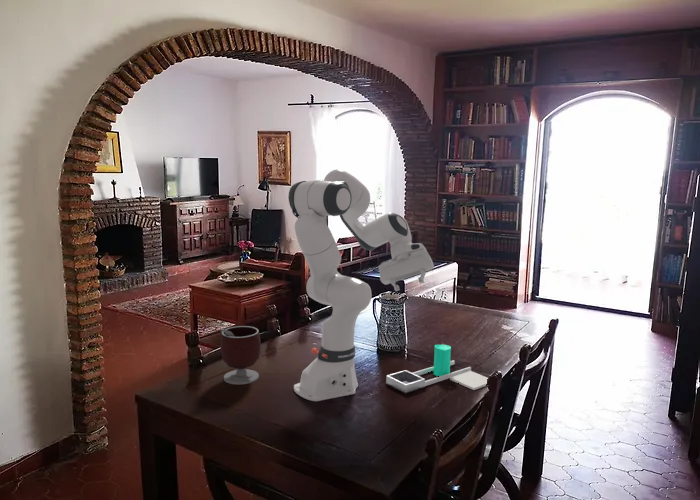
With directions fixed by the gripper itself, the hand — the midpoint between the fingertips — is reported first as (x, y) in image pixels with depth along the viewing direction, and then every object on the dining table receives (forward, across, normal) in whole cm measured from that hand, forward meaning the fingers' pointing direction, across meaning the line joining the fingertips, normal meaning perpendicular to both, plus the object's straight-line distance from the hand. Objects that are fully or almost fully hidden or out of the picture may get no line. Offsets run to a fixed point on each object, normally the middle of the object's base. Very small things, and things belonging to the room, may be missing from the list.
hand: (409, 286), depth 196 cm
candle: (+25, -1, +24) cm, 35 cm away
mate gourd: (+22, -65, -11) cm, 69 cm away
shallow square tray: (+31, -11, +11) cm, 35 cm away
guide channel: (+26, -1, +23) cm, 35 cm away
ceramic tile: (+31, +10, +24) cm, 40 cm away
